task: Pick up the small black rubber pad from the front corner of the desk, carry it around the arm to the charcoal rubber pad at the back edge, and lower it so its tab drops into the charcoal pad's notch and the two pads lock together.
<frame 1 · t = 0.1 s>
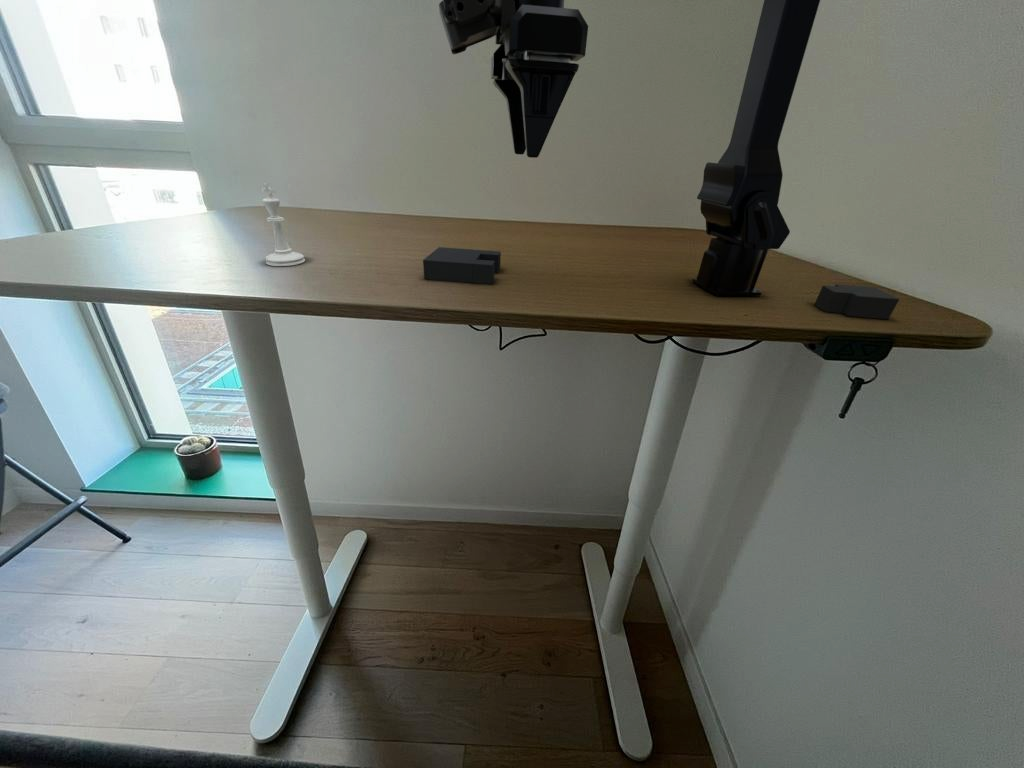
hand: (525, 155, 43), 15 cm above the table, tool pointing down, fingers open, 9 cm apart
black pad: (855, 311, 48), on the table
chess piece: (286, 263, 57), on the table
charcoal pad: (464, 273, 55), on the table
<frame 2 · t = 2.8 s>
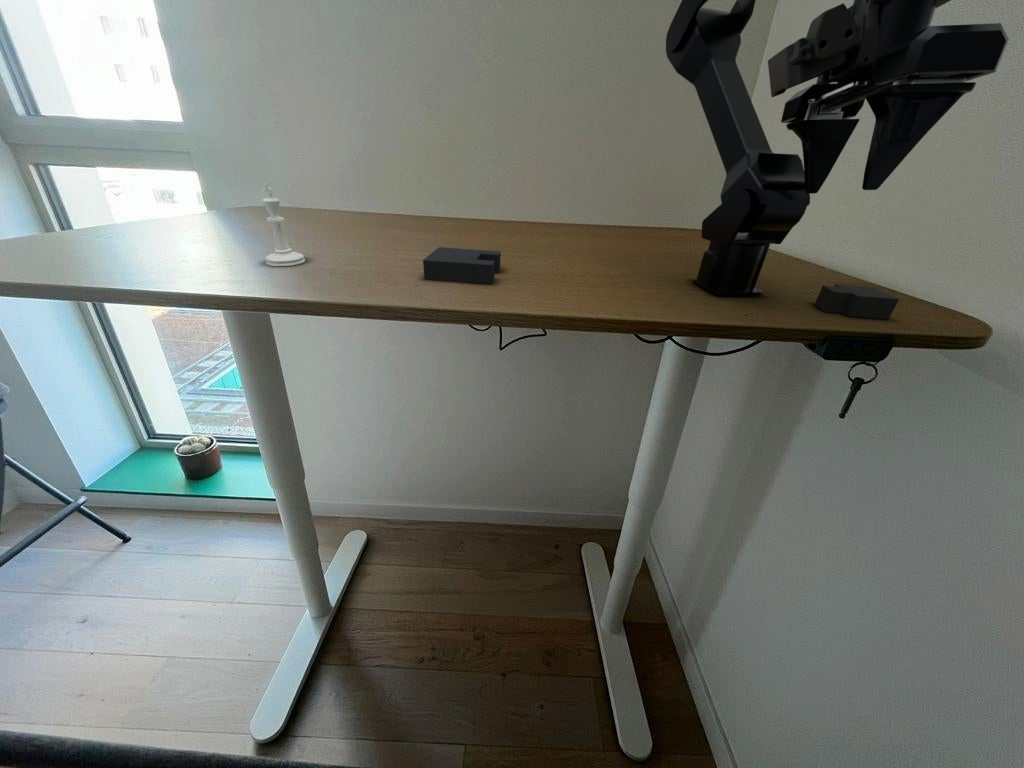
hand: (837, 191, 39), 13 cm above the table, tool pointing down, fingers open, 9 cm apart
nothing on the table moved.
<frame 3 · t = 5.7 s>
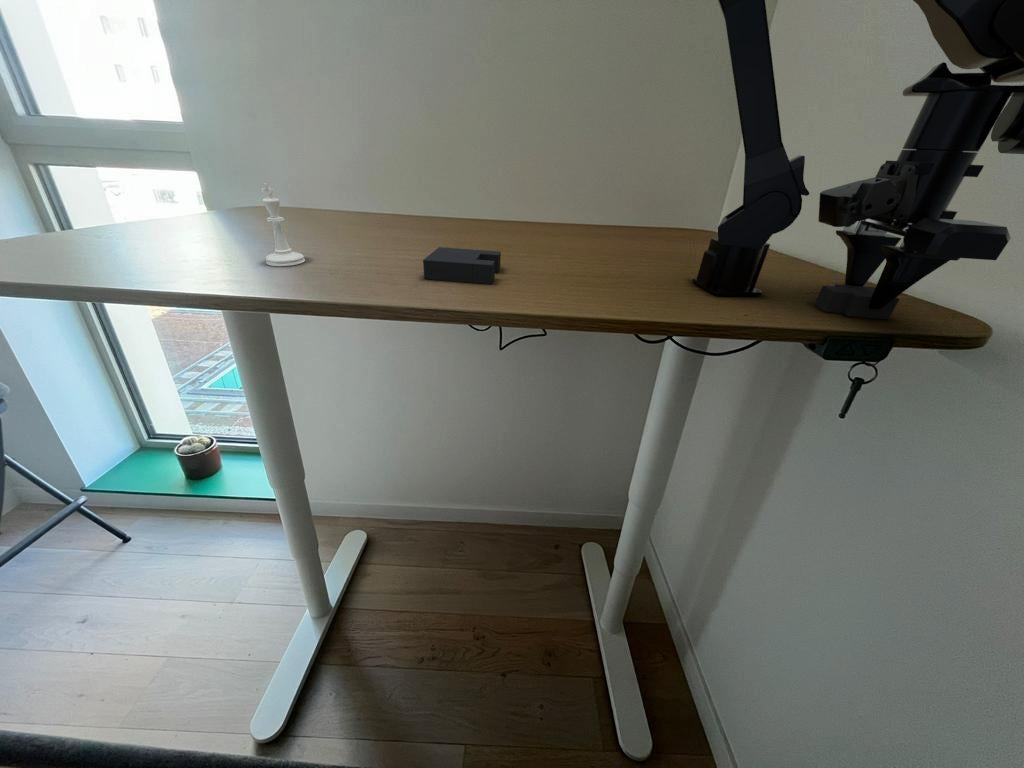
hand: (860, 301, 48), 1 cm above the table, tool pointing down, fingers closed on black pad, 4 cm apart
black pad: (856, 311, 48), on the table, touching gripper
everything else where it was.
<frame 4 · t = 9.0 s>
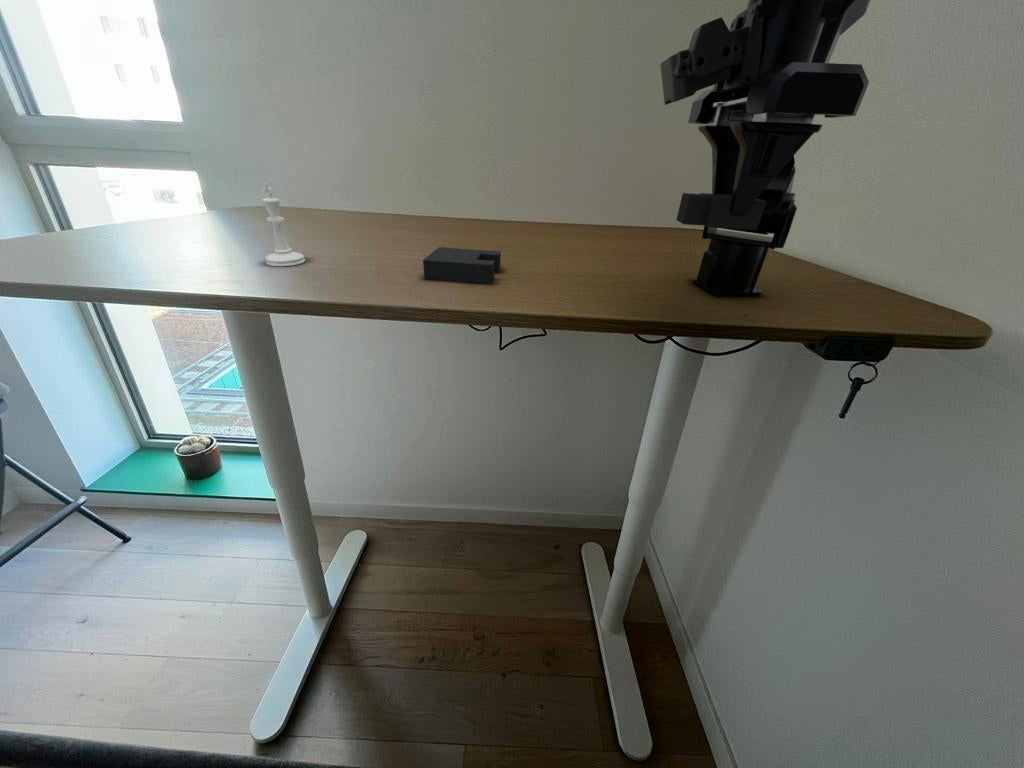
hand: (726, 211, 39), 11 cm above the table, tool pointing down, fingers closed on black pad, 4 cm apart
black pad: (723, 224, 39), point 10 cm above the table, touching gripper
everything else where it was.
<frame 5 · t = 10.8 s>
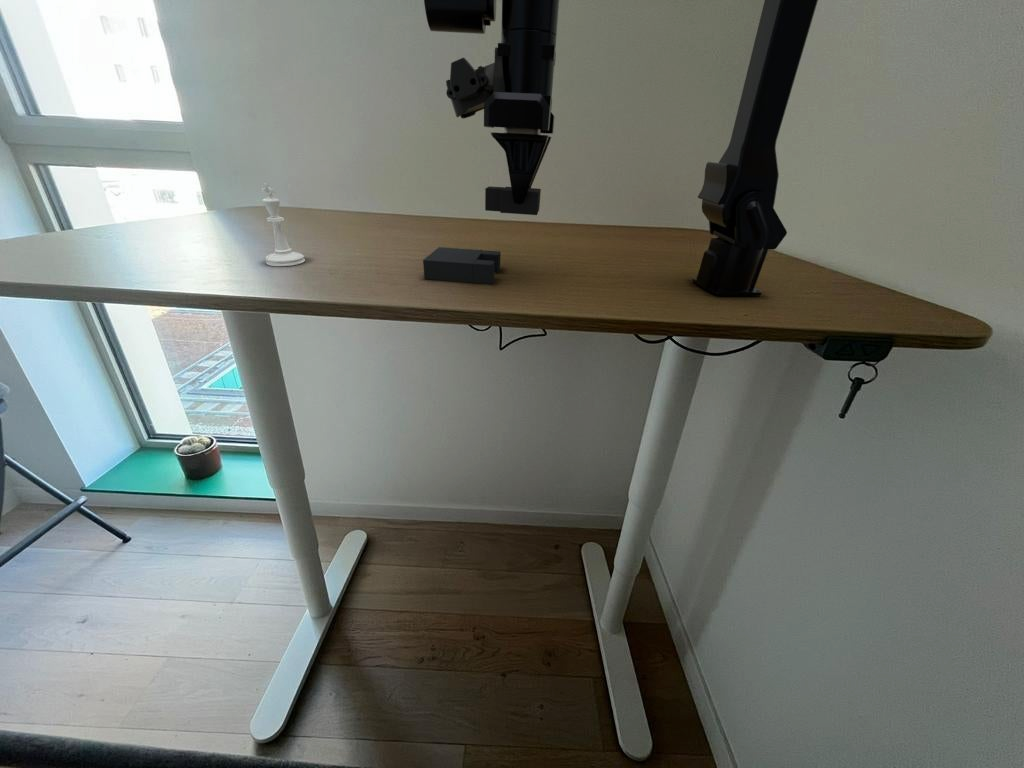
hand: (520, 201, 49), 10 cm above the table, tool pointing down, fingers closed on black pad, 4 cm apart
black pad: (520, 211, 50), point 8 cm above the table, touching gripper
everything else where it was.
when the fingers open (1 cm above the table, at t = 12.6 s): black pad stays where it is, on the table.
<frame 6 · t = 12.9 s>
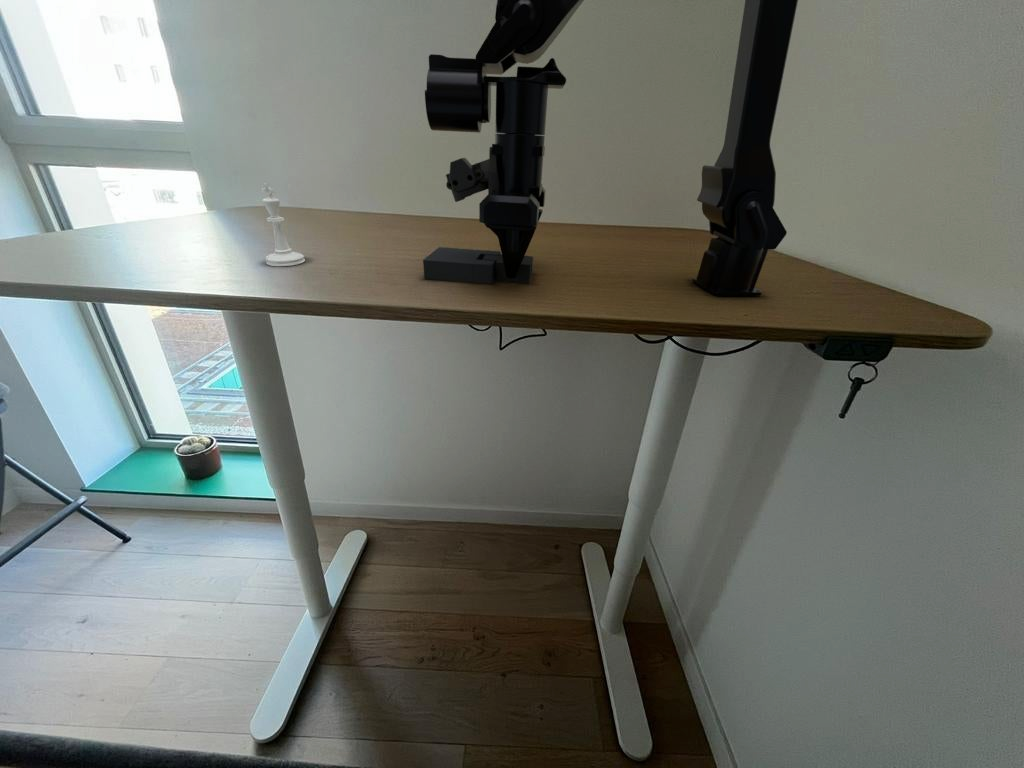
hand: (514, 270, 54), 1 cm above the table, tool pointing down, fingers open, 7 cm apart
black pad: (514, 277, 55), on the table
everything else where it was.
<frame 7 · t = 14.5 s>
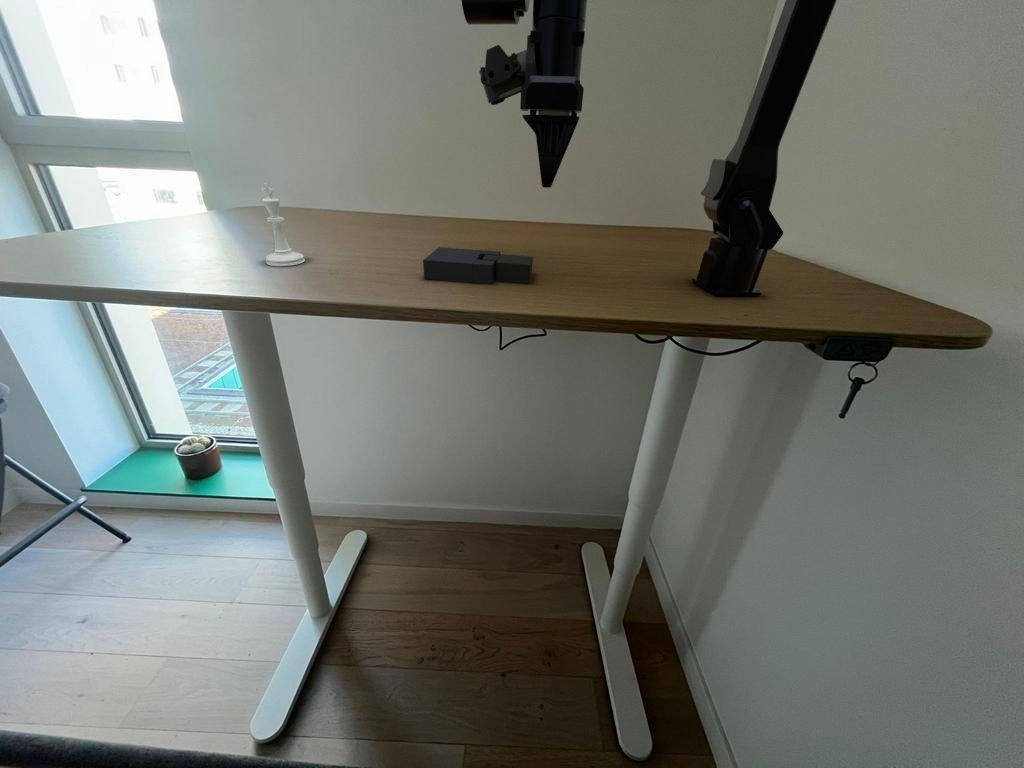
hand: (547, 184, 51), 11 cm above the table, tool pointing down, fingers open, 9 cm apart
nothing on the table moved.
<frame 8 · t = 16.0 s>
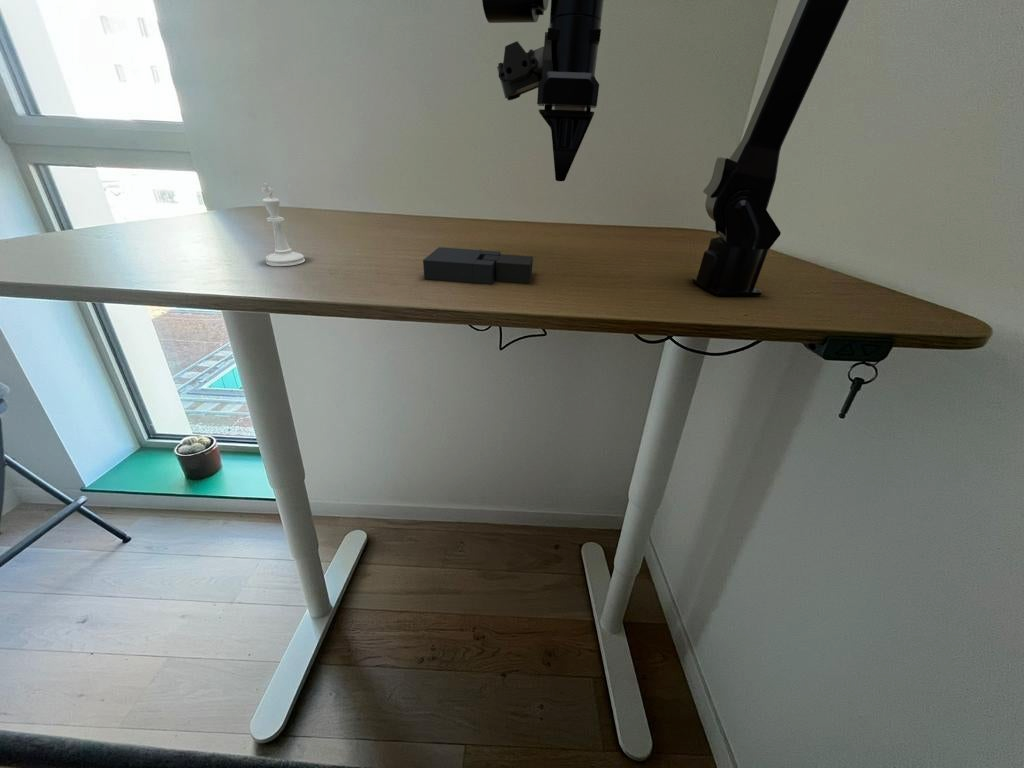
hand: (560, 178, 53), 12 cm above the table, tool pointing down, fingers open, 9 cm apart
nothing on the table moved.
at the end: black pad 0.1 cm from the target spot on the table beside the charcoal pad, on the table; black pad tilted 0°; the gripper is holding nothing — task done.
